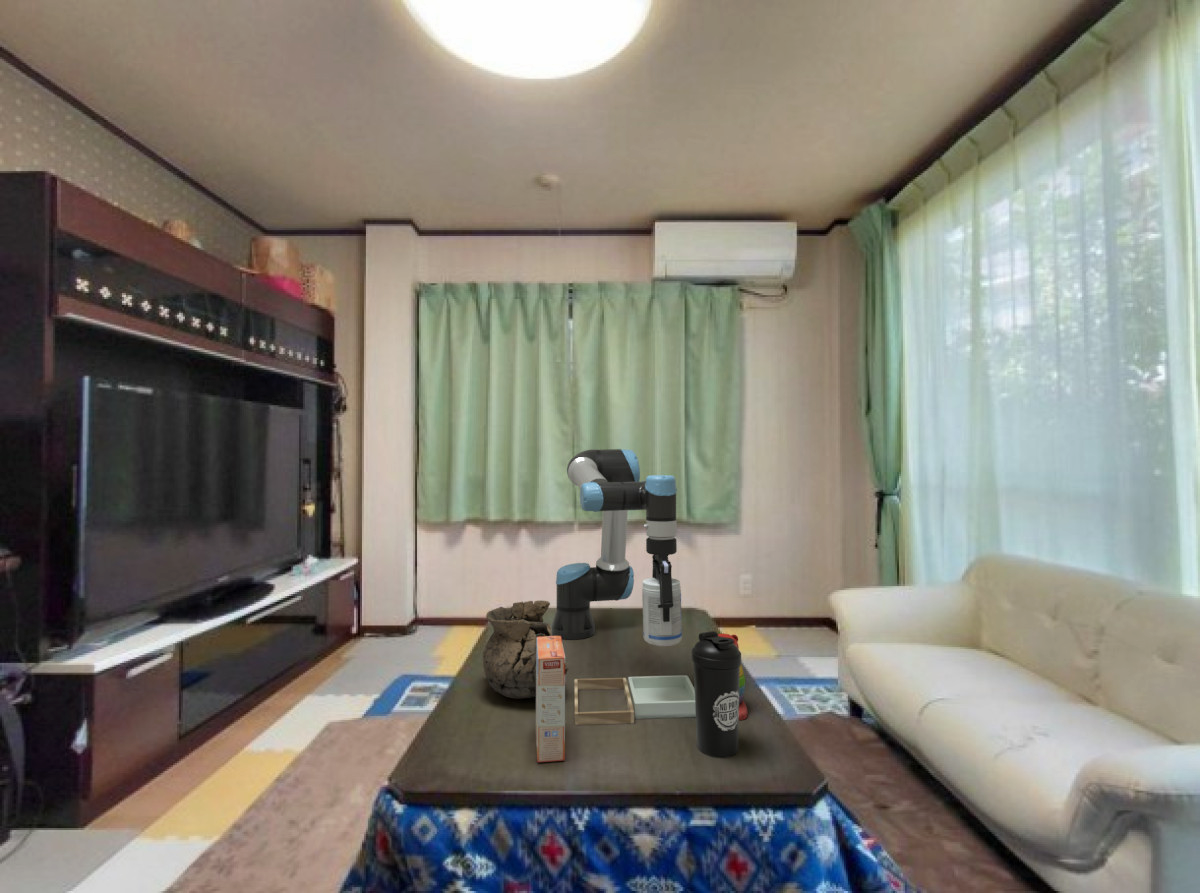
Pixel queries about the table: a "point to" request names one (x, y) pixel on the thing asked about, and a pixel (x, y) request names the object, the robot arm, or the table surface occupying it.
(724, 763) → the table surface
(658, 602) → the supplement tub
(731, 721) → the water bottle
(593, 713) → the oak frame
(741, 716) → the stacking bear
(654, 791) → the table surface
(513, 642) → the clay pot
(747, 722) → the table surface
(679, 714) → the pale mint square tray
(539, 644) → the cracker box
